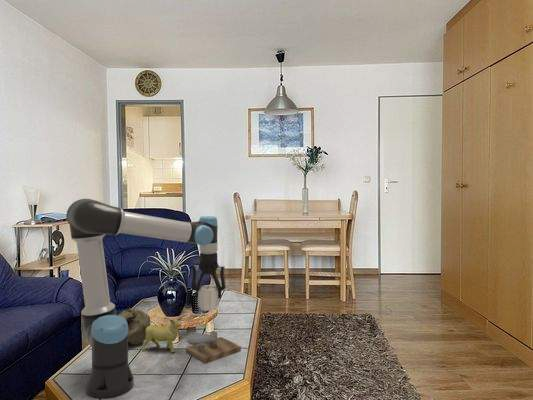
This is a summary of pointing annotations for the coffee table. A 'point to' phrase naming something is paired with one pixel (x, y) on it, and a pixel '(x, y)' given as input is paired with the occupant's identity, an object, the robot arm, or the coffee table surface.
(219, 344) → the lock base
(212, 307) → the grey rounded block
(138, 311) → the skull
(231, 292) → the coffee table surface
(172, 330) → the toy
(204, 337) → the coaster
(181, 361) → the coffee table surface
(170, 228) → the robot arm
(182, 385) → the coffee table surface
